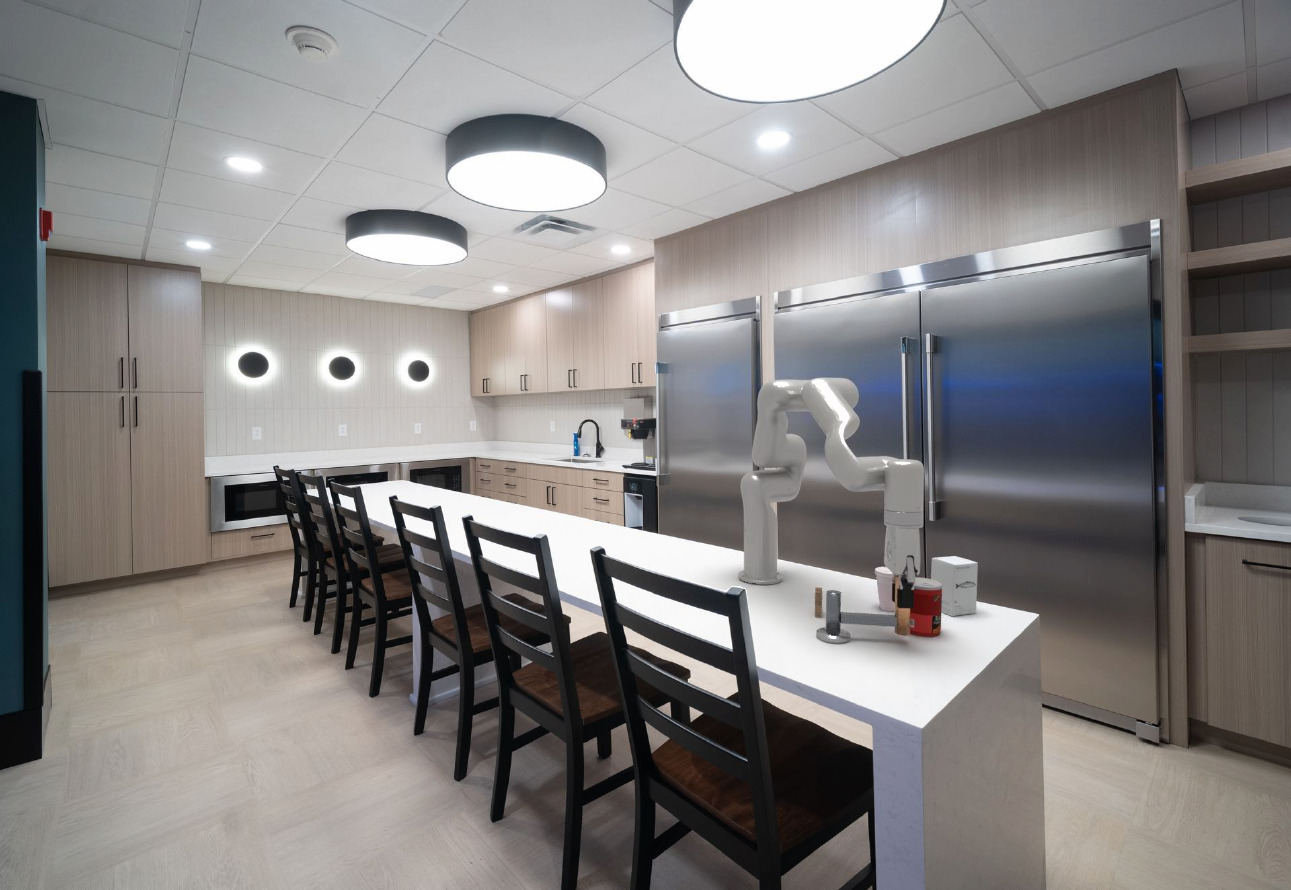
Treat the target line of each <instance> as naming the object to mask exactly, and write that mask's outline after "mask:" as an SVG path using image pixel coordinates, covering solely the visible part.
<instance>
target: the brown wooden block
mask: <svg viewBox="0 0 1291 890" xmlns="http://www.w3.org/2000/svg"><path fill="white" fill-rule="evenodd" d="M814 588H815V589H814V618H820V619H821V618H822V617H823V587H816V586H815V587H814Z"/></svg>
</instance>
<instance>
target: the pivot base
mask: <svg viewBox="0 0 1291 890" xmlns="http://www.w3.org/2000/svg"><path fill="white" fill-rule="evenodd" d="M815 637H816V638H817V640H819V641H821V642H823V643H827V644H830V645H831V644H832V645H833V644H834V645H842V644H843V645H844V644H846V643H847V644H848V643H849V642H850V641H851V634H850V632H849V631H848V630H846V629H844V628H840V634H829V633H827V632H826V626H824V627H820V628H818V629H816V633H815Z"/></svg>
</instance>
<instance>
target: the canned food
mask: <svg viewBox="0 0 1291 890" xmlns="http://www.w3.org/2000/svg"><path fill="white" fill-rule="evenodd" d="M915 580H916V581H915V583H914V608H912V609H910V634H911V635H914V636H918V637H930V638H931V637H937V636H939V635H940V633H941V630H942V612H941V610H942V584H941V583H940V582H938V581H935V580H932V579H931V578H926V577H917V576H915Z"/></svg>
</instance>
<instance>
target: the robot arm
mask: <svg viewBox="0 0 1291 890" xmlns="http://www.w3.org/2000/svg"><path fill="white" fill-rule="evenodd" d="M859 396H860V395H859V389H858V387H857V385H856V384H855V383H854V382H853V381H852V380H850V379H848V378H844V377H816V378H811V379H775V380H770V381H768V382H765V384H763V385H762V386H761V388H760V390H759V392H758V395H757V404H756V405H757V406H756V407H757V419H756V420H757V421H756V425H755V432H754V436H753V443H752V449H751V460H752V462H753V464H754V465H755V466H756V467H758V468H764V469H759V470H752V471H749V472H747V473H746V474H744V475H743V476H742V478H741V481H740V493H741V499H742V503H743V504H742V506H743V570H741V571H739V573H738V574H737V575H738V579H739V580H740V581H741V582H744V581H745V583H747V582H748V584H752V583H756V584H755V585H763V586H764V585H767V586H768V585H775V584H779V583H781V582H782V581H783V577H784V576H783V575H782V573H780V572H778V517H777V514H776V511H775V510H774V509H773V507H772V504H773V503H782V502H790V501H793V500H795V499H796V498H797V496H798V495H799V492H800V490H801V485H802V481H803V476H804V471H805V467H806V461H807V455H808V454H807V453H808V452H807V446H806V443H805V440H804V439H803V438H802V437H801V436H800V435H797V434H794V433H788V427H789V419H788V416H787V412H798V413H801V412H809V413H810V415H811V417H813V419H814V420H815V422H816V423H817V424H818V427H820V430H822V432H823V433H824V435H825V437H826V438H825V441H824V442H825V443H824V456H825V462H826V464H827V466H828V468H829V470H830V471H831V473H832V474H833V475H834V477H835V479H836V480H837V482H838V483H839V484H840V485H841V486H842V487H843V488H844V489H846V490H847V491H850V492H855V493H859V492H860V493H862V492H873V491H874V492H876V491H884V492H883V493H884V494H883V495H884V497H883V499H884V503H883V505H884V509H883V512H884V514H883V524H884V526H886V529H885V536H884V537H885V540H884V555H883V564H884V567H887V568H888V569H889V570H890V571H891V572H892V582H893V583H892V601H893V602H895V580H896V576H898V575H899V588H897V607H898V608H910V609H912V608H914V583H915V581H916V580H915V577H917V576H919V575H920V573H921V540H920V539H921V538H920V536H921V535H920V529H922V528H923V527H924V494H925V493H924V490H925V487H924V484H925V483H924V482H925V480H924V479H925V478H924V477H925V475H924V474H925V469H924V468H925V467H924V464H923V463H922V462H921V461H920V460H917V459H906V458H905V459H904V458H902V459H900V458H897V457H894V456H888V455H879V456H873V455H872V456H860V457H859V456H858V457H857V456H856V455H855V454H854V452H853V451H852V450H851V448H850V447H849V446H848V444H847V442H846V440H848V439H849V438H851V436H853V435H854V434H855V432H857V430H858V428H859V427H860V423H861V421H860V417H859V416H858V414H857V413H856V412H855V410H854V408H855V407H856V406H857V405H858V402H859V399H860V397H859ZM776 468H777V469H776ZM903 578H906V579H904V580H903Z"/></svg>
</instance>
